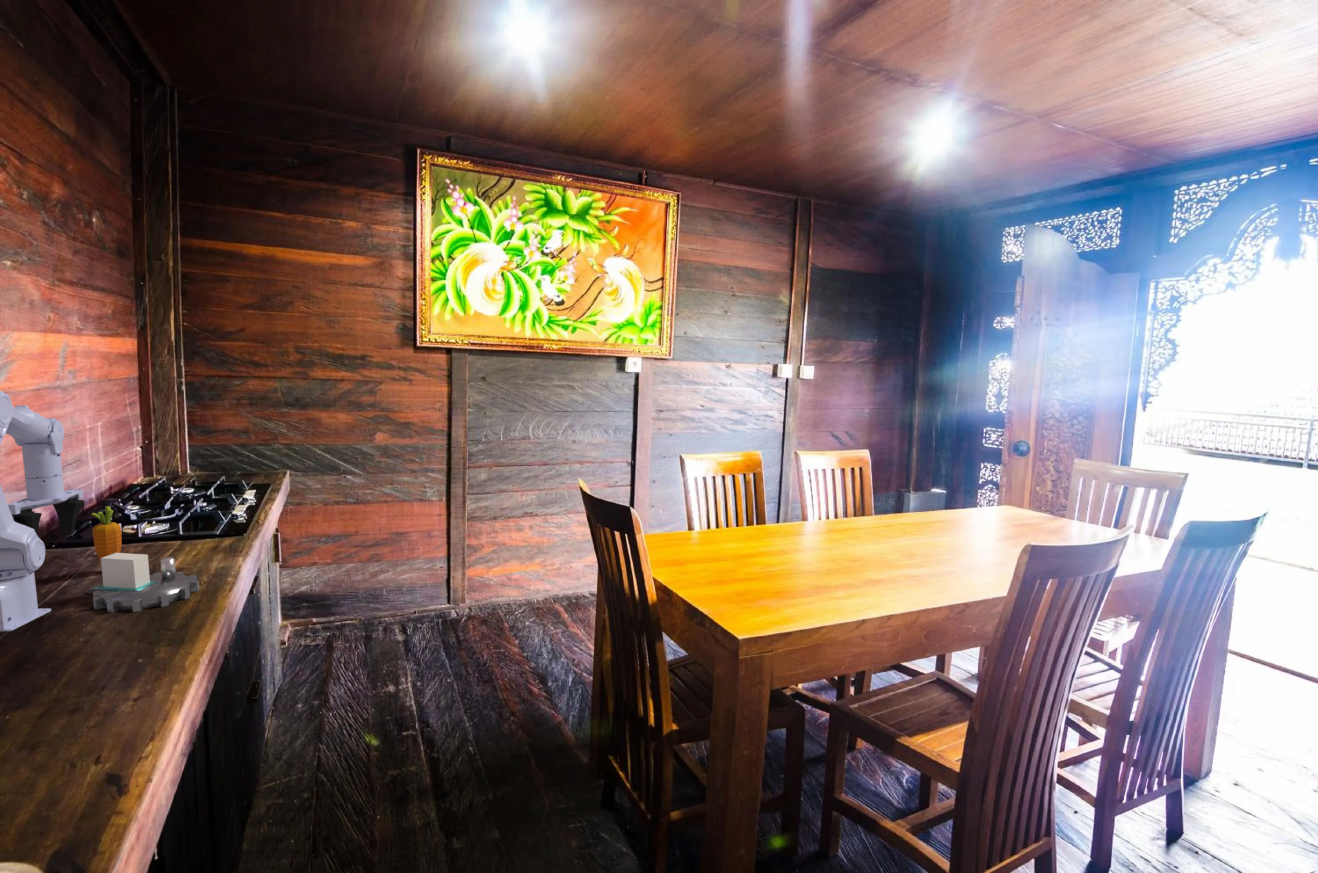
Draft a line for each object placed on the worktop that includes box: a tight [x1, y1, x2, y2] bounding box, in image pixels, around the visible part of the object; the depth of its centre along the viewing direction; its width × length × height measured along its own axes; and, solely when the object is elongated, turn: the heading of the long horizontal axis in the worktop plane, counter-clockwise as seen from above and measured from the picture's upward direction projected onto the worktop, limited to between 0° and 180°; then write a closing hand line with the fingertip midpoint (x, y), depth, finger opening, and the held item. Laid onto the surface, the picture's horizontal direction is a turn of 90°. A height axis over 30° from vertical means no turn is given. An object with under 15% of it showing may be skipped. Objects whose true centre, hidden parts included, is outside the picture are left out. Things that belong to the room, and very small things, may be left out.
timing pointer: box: [87, 586, 103, 595], centre depth 139 cm, size 3×1×1 cm, turn 86°
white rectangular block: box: [100, 552, 150, 589], centre depth 138 cm, size 7×4×6 cm, turn 85°
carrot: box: [91, 505, 123, 563], centre depth 150 cm, size 5×5×15 cm
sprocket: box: [92, 556, 200, 614], centre depth 138 cm, size 17×17×6 cm
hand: (50, 539), depth 140 cm, fingers open, 7 cm apart
